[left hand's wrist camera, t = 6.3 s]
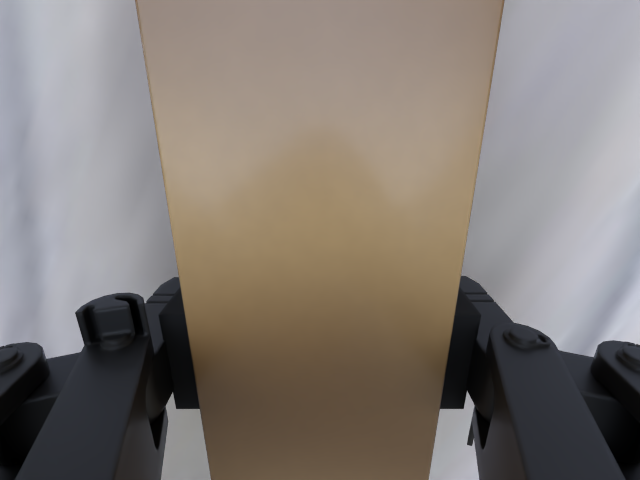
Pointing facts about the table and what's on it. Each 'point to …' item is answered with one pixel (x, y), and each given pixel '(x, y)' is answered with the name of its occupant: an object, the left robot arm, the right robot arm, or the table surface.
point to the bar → (319, 219)
